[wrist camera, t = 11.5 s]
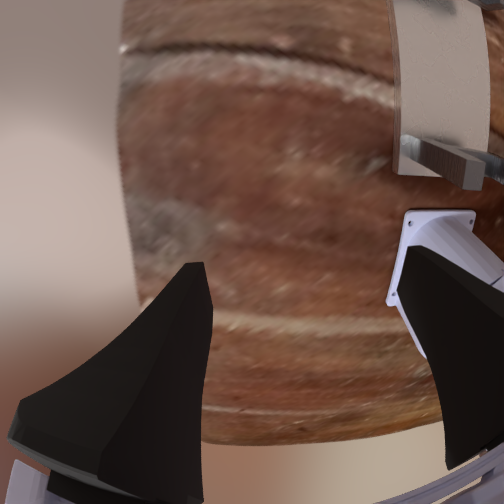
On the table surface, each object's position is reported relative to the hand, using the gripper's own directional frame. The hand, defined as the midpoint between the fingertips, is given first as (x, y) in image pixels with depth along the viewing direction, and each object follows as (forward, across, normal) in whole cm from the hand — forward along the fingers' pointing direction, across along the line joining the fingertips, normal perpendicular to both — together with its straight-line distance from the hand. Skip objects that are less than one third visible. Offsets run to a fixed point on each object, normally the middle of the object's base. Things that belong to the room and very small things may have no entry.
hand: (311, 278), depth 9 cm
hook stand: (+10, -13, -9) cm, 19 cm away
